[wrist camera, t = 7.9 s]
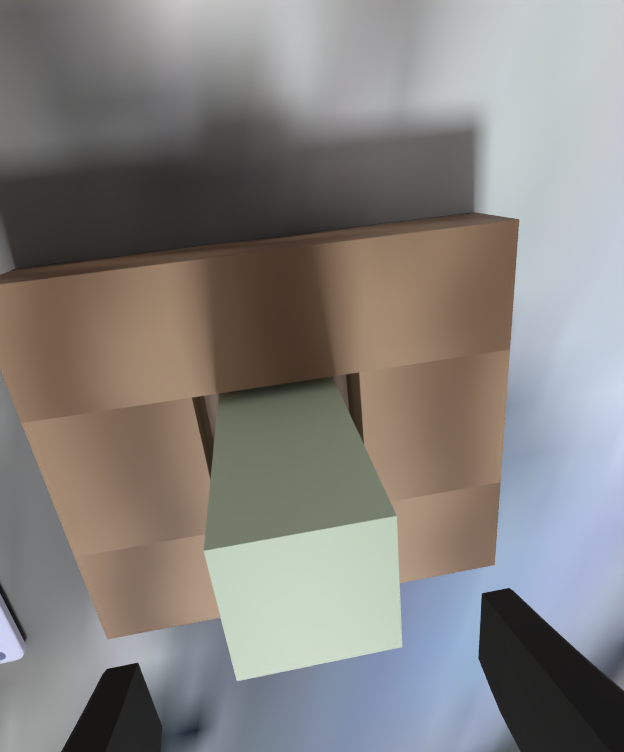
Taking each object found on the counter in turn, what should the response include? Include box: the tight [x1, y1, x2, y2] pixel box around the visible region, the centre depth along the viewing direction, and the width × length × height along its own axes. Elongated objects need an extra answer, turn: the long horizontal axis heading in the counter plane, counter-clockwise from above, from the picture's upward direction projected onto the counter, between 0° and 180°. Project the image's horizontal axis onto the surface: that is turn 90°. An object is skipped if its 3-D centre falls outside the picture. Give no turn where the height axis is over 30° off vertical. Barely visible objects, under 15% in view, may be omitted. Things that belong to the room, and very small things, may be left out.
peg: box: [204, 376, 402, 681], centre depth 15 cm, size 4×4×9 cm
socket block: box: [0, 213, 519, 639], centre depth 18 cm, size 16×14×3 cm
